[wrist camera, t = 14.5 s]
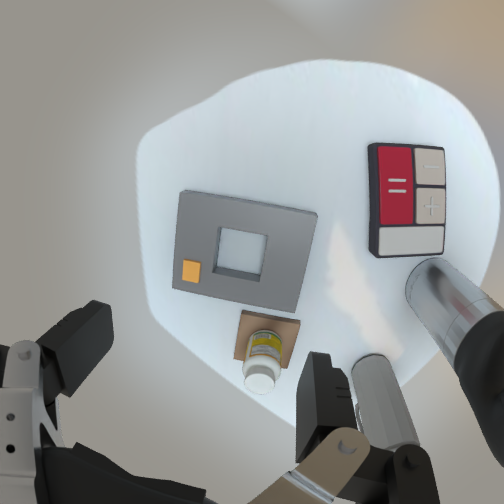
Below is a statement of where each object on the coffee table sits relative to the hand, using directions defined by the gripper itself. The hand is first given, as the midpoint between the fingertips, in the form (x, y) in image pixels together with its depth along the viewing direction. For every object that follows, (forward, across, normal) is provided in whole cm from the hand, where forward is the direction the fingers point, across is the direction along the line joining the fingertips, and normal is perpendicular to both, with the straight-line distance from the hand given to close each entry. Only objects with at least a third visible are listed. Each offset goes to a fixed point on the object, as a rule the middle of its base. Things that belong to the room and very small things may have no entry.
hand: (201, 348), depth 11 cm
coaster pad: (+30, -4, +20) cm, 36 cm away
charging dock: (+30, +2, +6) cm, 31 cm away
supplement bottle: (+29, -4, +20) cm, 36 cm away
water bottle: (+30, -23, +24) cm, 45 cm away
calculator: (+31, -19, -6) cm, 37 cm away
